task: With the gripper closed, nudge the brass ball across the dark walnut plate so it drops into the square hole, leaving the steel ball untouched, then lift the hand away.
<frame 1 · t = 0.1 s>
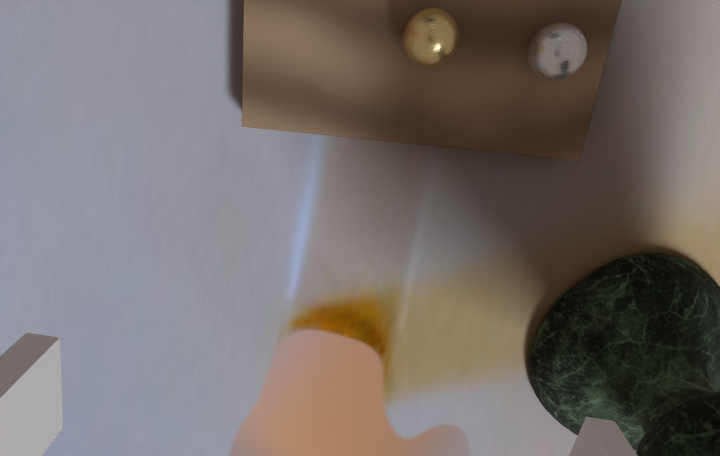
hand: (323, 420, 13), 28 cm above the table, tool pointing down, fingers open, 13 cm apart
brass ball: (431, 38, 31), point 4 cm above the table, touching hole plate
goblet: (627, 349, 45), on the table
steel ball: (556, 52, 32), point 4 cm above the table, touching hole plate
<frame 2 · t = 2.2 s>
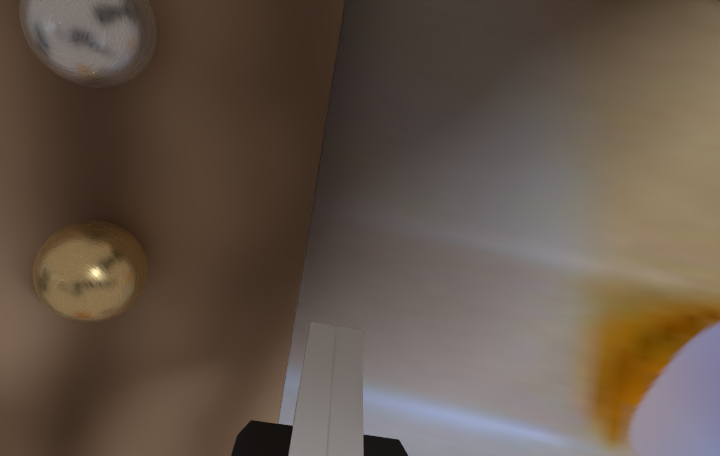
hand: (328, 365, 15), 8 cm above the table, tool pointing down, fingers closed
brass ball: (93, 271, 17), point 4 cm above the table, touching hole plate
steel ball: (92, 24, 15), point 4 cm above the table, touching hole plate
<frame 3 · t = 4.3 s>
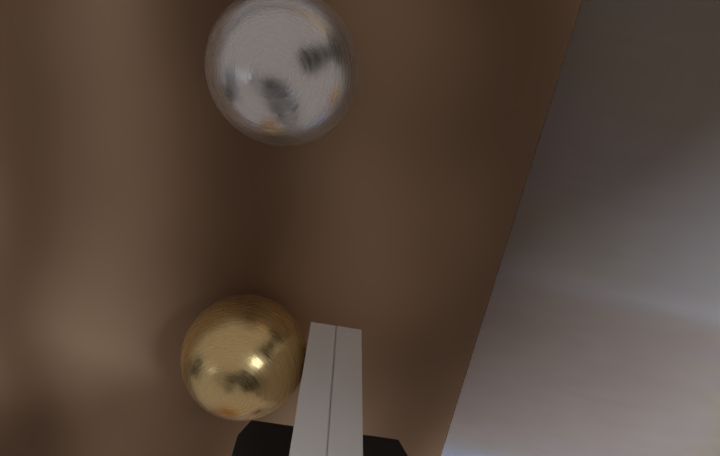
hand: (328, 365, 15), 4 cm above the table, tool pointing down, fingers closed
hole plate: (105, 260, 18), on the table
brass ball: (244, 355, 15), point 4 cm above the table, touching gripper, hole plate
steel ball: (283, 70, 12), point 4 cm above the table, touching hole plate
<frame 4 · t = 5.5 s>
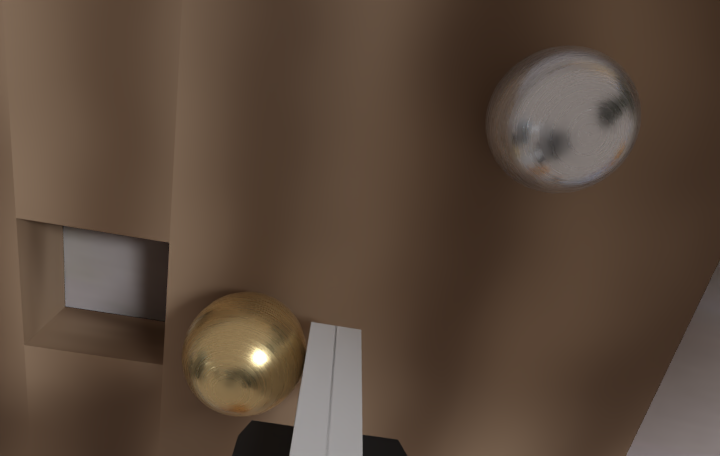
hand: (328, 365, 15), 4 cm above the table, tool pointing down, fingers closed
hole plate: (292, 288, 19), on the table
brass ball: (245, 352, 15), point 4 cm above the table, tilted 176°, touching gripper, hole plate
steel ball: (559, 121, 12), point 4 cm above the table, touching hole plate
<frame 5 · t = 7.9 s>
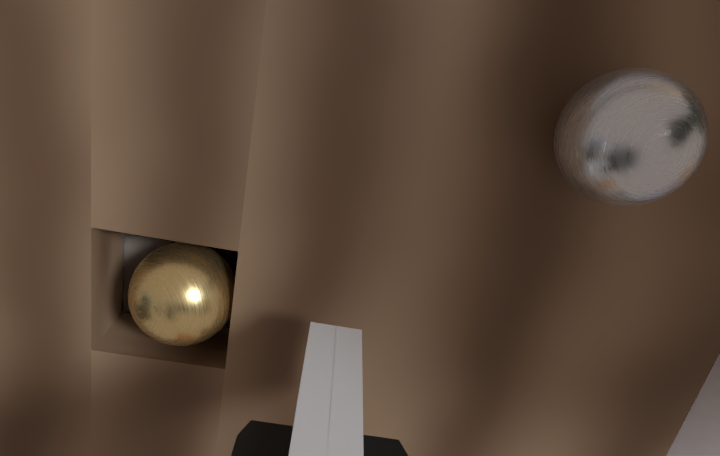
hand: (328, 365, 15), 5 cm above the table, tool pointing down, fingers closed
hole plate: (344, 294, 19), on the table
brass ball: (184, 293, 17), point 2 cm above the table, tilted 31°
steel ball: (626, 138, 13), point 4 cm above the table, touching hole plate
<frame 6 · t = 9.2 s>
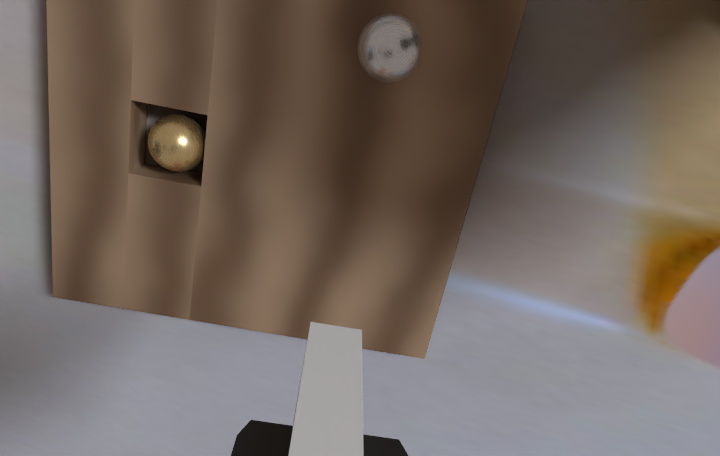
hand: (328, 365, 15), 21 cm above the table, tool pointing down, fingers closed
hole plate: (272, 154, 33), on the table
brass ball: (177, 143, 31), point 2 cm above the table, tilted 33°
steel ball: (390, 48, 27), point 4 cm above the table, touching hole plate
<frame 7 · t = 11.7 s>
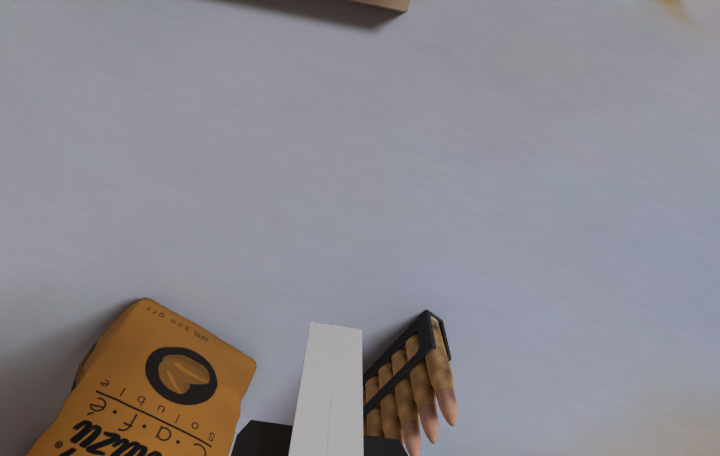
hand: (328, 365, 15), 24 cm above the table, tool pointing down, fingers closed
coffee package: (183, 353, 44), on the table
ammunition clip: (394, 355, 44), on the table
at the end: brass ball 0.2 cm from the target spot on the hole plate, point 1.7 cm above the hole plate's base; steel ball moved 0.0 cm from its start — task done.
